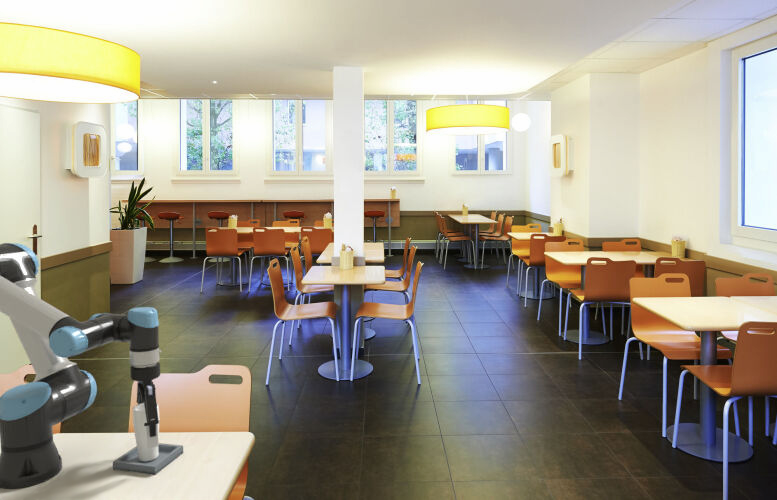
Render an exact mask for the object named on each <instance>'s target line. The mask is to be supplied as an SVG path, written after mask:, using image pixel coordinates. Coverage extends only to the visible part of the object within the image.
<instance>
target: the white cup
mask: <svg viewBox="0 0 777 500" xmlns="http://www.w3.org/2000/svg"><path fill="white" fill-rule="evenodd" d="M157 412H158V420H159V421H160V407H159V403H157ZM152 420H154V419H152ZM145 423H147V420H146V413H145V406H144V403H142V404H139V405H138V404H137V405H134V406H133V408H132V424H133V430H134V436H135V437H134V438H135V444H136V446H137V451H138V459H139V460H140V461H143V462H147V461H152V460H154V459H156V458H157V457H158V455H159V443H160V441H159V440H160V439H159V438H160V437H159V436H160V423H159V424H157V427H158V446H157V447H153V448H149V449H147V436H146V426H144V424H145Z"/></svg>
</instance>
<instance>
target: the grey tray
mask: <svg viewBox="0 0 777 500" xmlns="http://www.w3.org/2000/svg"><path fill="white" fill-rule="evenodd" d="M183 454H184V445H181V444H173V443H172V444H170V443H162V442H159V455H158V457H157V458H156V459H154V460H152V461H147V462H143V461H140V460H139V459H138V451H137V445H136V446H134V447H133V448H131V449H130V450H128V451H126V452H125V453H124V454H123V455H121V456H119V457H118V458H116V459H115V460H113V461H112V470H114V471H121V472H130V473H138V474H139V473H140V474H146V475H157V474H159V472H161V471H162V470H163V469H164V468H166V467H167V466H169V465H170V464H171V463H172V462H175V460H176V459H178V458H179V457H180V456H182V455H183Z"/></svg>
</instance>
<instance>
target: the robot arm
mask: <svg viewBox="0 0 777 500" xmlns="http://www.w3.org/2000/svg"><path fill="white" fill-rule="evenodd" d="M38 267H40V263H39V259H38V257H37V255H36V253H35V252H34V251H33V250H32V249H31V248H30V247H28V246H27V245H25V244H22V243H11V242H4V243H0V313H2V314H4V315H5V316H8V317H9V320H10V322H11V324H12V326H13V328H14V330H15V332H16V334H17V337H18V339H19V341H20V344H21V345H22V347H23V350H24V352H25V353H26V356H27V358H28V360H29V363H30V364H31V366H32V368H33V370H34V373H35V378H34V380H33V381H31V382H27V383H24V384H19V385H16V386H13V387H12V388H9V389H8V390H6V391H4V393H3V394H1V395H0V488H3V489H20V488H21V489H22V488H26V487H30V486H34V485H39V484H40V483H43V482H46V481H48V480H50V479H51V478H53V477H55V476H57V475H58V474H59V473H60V472H61V471H62V469H63V460H62V456H61V454H60V453H59V450H58V448H57V446H56V444H55V442H54V437H53V436H54V432H53V430H54V429H53V427H54V426H55V425H58V424H59V423H62V422H63V421H65V420H68V419H70V418H72V417H74V416H76V415H78V414H81V413H82V412H83V411H84V410H86V409H88V408H89V407H91V406H92V404H93V403H94V402H95V399H96V396H97V392H98V387H97V383H96V382H97V381H96V380H95V378H94V376H93V375H92V374H91V373H90V372H88V371H87V370H82V369H80V368H79V366H78V364H77V362H73V361H70V360H69V357H74V356H78V355H80V354H83V353H85V352H88V351H90V350H92V349H95V348H99V347H101V346H104V345H107V344H109V343H115V342H118V343H128V345H129V350H128V352H129V353H128V354H129V364H130V367H129V368H130V369H129V371H130V379H131V380H132V381H134V382H137V385H136V386H137V387H136V388H137V389H136V400H135V401H136V403H137V405H139V404H142V403H144V406H145V413H146V420H147V423H145V424H144V426H146V436H147V449H149V448H153V447H157V446H158V427H157V424H159V425H160V419H159V420H158V412H157V404H158V403H157V396H156V395H157V394H156V386H155V383H154V381H153V380H157V379H158V378H159V377H160V376H161V364H160V354H162V352H163V351H162V350H161V349H160V341H159V339H160V337H159V335H160V333H159V331H160V330H159V326H160V321H159V317H158V316H159V315H158V310H157V309H156V307H155V308H154V307H152V306H151V307H150V306H145V307H144V306H141V307H140V306H139V307H133V308H131V309H128V311H127V314H121V313H109V312H104V313H95V314H93V315H92V316H91V317H90V318H89V319H88V320H85V321H79V320H78V319H76V318H73V317H72V316H70V315H69V314H67V313H65V312H63V311H62V310H60V309H58V308H57V307H55V306H53V305H52V304H50V303H48V302H47V301H44V300H43V299H41V298H40V297H39V296H38V295H39V294H38V293H37V291H36V288H35V286H36V284H37V281H38V279H37V277H36V276H37V274H38V273H39V268H38ZM152 419H154V420H152Z"/></svg>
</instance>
